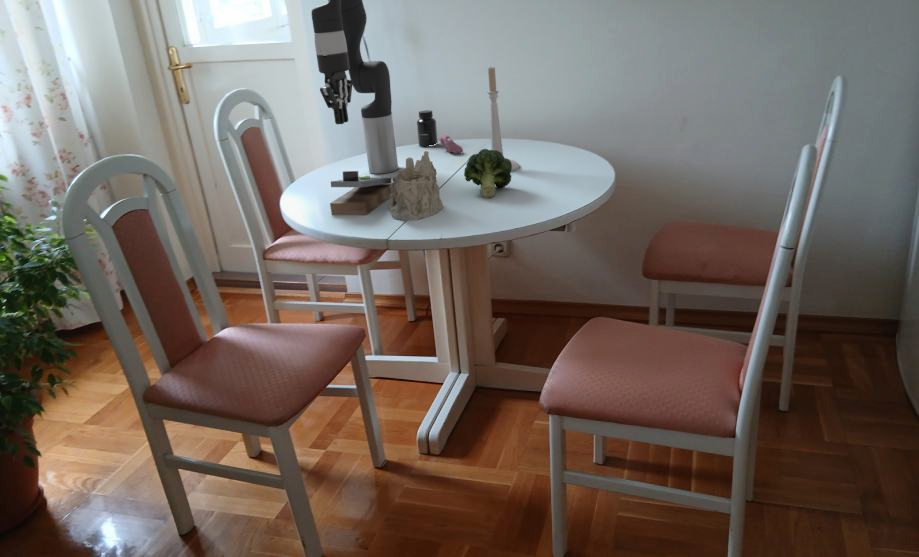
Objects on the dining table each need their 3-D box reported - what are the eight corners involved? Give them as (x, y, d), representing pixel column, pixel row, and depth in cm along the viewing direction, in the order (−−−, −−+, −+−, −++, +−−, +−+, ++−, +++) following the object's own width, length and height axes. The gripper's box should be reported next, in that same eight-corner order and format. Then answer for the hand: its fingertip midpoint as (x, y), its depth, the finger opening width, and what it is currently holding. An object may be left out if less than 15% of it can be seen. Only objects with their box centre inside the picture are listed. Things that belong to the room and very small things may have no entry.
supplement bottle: (421, 148, 260) (417, 114, 256) (417, 145, 266) (413, 111, 262) (440, 145, 262) (436, 111, 257) (435, 142, 268) (432, 108, 264)
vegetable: (454, 193, 195) (458, 156, 204) (489, 218, 201) (491, 181, 211) (486, 168, 187) (489, 131, 197) (521, 195, 194) (522, 158, 203)
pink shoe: (445, 154, 256) (434, 137, 253) (456, 146, 256) (445, 129, 253) (453, 159, 247) (442, 142, 244) (464, 151, 247) (454, 134, 244)
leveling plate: (362, 182, 208) (361, 168, 208) (391, 182, 205) (391, 168, 205) (331, 187, 192) (330, 171, 191) (362, 187, 189) (361, 171, 188)
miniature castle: (409, 197, 202) (402, 144, 195) (455, 207, 192) (449, 151, 185) (368, 217, 191) (359, 161, 185) (414, 228, 181) (407, 170, 175)
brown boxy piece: (359, 192, 212) (357, 177, 210) (401, 193, 207) (399, 176, 206) (326, 214, 194) (323, 197, 192) (372, 215, 190) (369, 197, 188)
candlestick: (503, 175, 216) (496, 69, 205) (468, 171, 223) (460, 69, 212) (527, 164, 225) (522, 62, 214) (493, 161, 233) (486, 63, 221)
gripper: (331, 49, 187) (341, 118, 194) (304, 55, 175) (315, 129, 182) (358, 47, 185) (367, 117, 191) (332, 53, 173) (343, 128, 179)
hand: (342, 122), depth 186 cm, fingers closed
